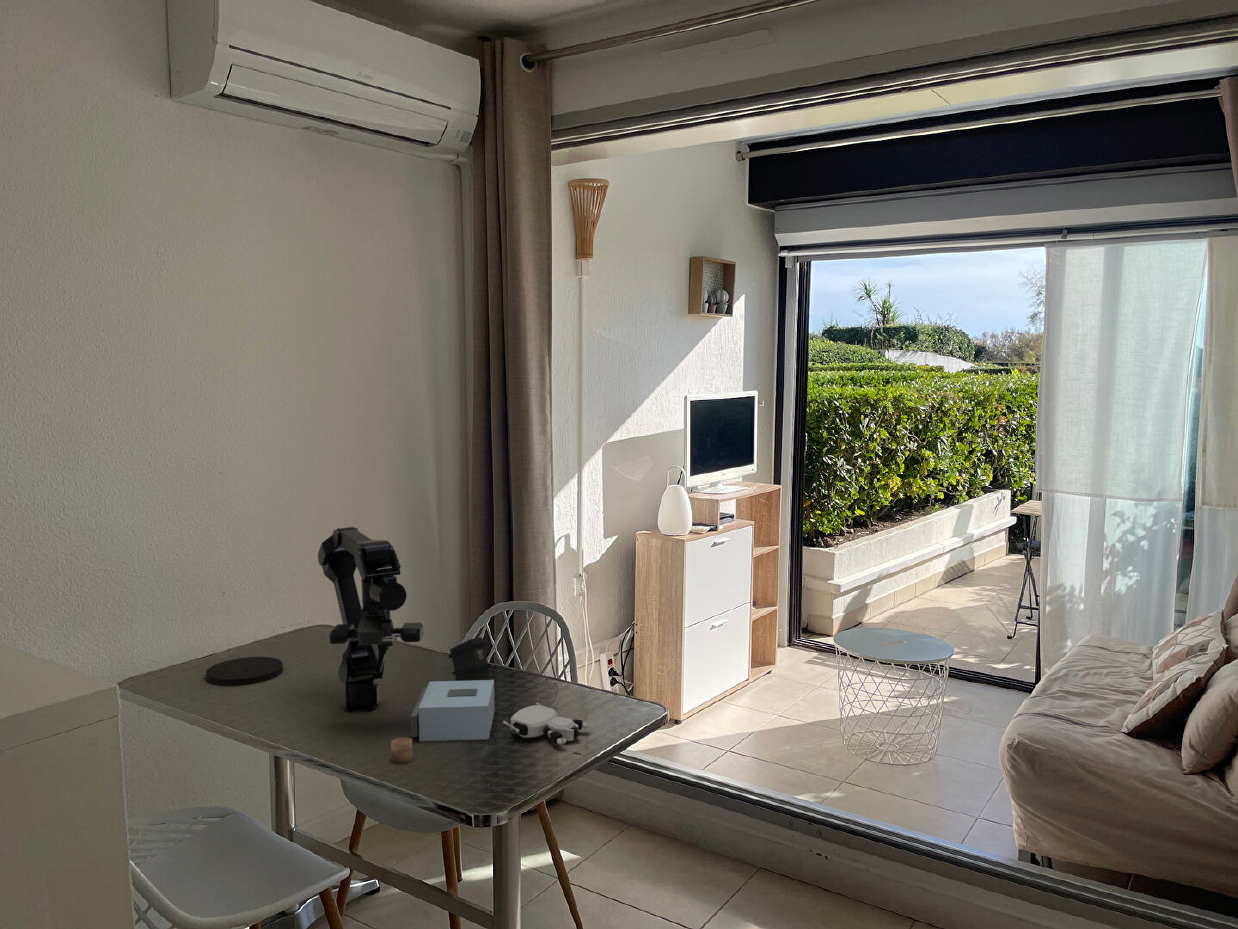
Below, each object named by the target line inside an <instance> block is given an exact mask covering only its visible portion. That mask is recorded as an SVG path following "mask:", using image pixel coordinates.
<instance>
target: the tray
mask: <svg viewBox="0 0 1238 929" xmlns="http://www.w3.org/2000/svg"><path fill="white" fill-rule="evenodd" d="M427 687H428V686H427ZM427 687H423V688H422V690H421V692H420V695H419V697H418V699H417V701H416V704H415V706H414V708H413V710H412V712H411V715H410V732H411V733H410V735H411V736H410V738H411V737H412V738H414V737H415V738H418V737H419V712H418V708H419V705H420V703H421V701H422V698H423V696H424V694H425V691H426V689H427Z"/></svg>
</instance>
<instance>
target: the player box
mask: <svg viewBox="0 0 1238 929" xmlns="http://www.w3.org/2000/svg"><path fill="white" fill-rule="evenodd" d="M418 712H419V734H418V737H419V738H418V740H419V742H436V741H437V742H440V741H444V742H445V741H474V740H475V741H477V740H478V741H479V740H480V741H481V740H489V739H490V735H491V730H492V724H493V720H494V715H495V712H496V711H495V680H494V679H490V680H474V681H456V680H447V681H446V680H440V681H429V682H428V685H427V689H426V691H425V694H424V696H423V698H422V701H421V703H420V705H419V708H418Z"/></svg>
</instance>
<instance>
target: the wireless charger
mask: <svg viewBox="0 0 1238 929" xmlns="http://www.w3.org/2000/svg"><path fill="white" fill-rule="evenodd" d="M283 672H284V664H283V661H282V660H281V659H279V658H276V657H270V656H246V657H239V658H234V659H229V660H225V661H222V662H219V663H216V664H214V665H212V666H210V667H209V668H207V669H206V671H205V680H206V682H207V683H208V684H211V685H214V686H219V687H242V686H249V685H255V684H261V683H263V682H264V683H265V682H266V681H270V680H273V679H275V678H277V677H279V676H281V674H283Z"/></svg>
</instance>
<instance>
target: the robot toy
mask: <svg viewBox="0 0 1238 929" xmlns="http://www.w3.org/2000/svg"><path fill="white" fill-rule="evenodd" d="M502 724H505V725H507V727H510V730H511V732H513V734H517V735H519V736H520V737H522V738H524V739H530V738H537V737H540V736H543V735H545V736H547V737H548V739H550V741H551V742H552V743H553V744H555V745H563V744H566V743H567V742H571V741H574V739H577V738H578V737H580V736H579V735H580V731H582V728H583V729H584V730H585V729H586V730H587V729H589V728H590V726H591V723H590V722H587V721H585V722H583V719H576V718H574V719H572V718H568V717H564V716H558V712H557V711H556V710H555V709H554V708H552V707H547V706H545V705H542V704H540V702H535V705H530V706H526V707H524V708H521V709H519V710H518V711H516V712H515V713H514V714H513V715H512V716H511V718H510V724H509V722H507V721H506V720H502Z"/></svg>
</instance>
